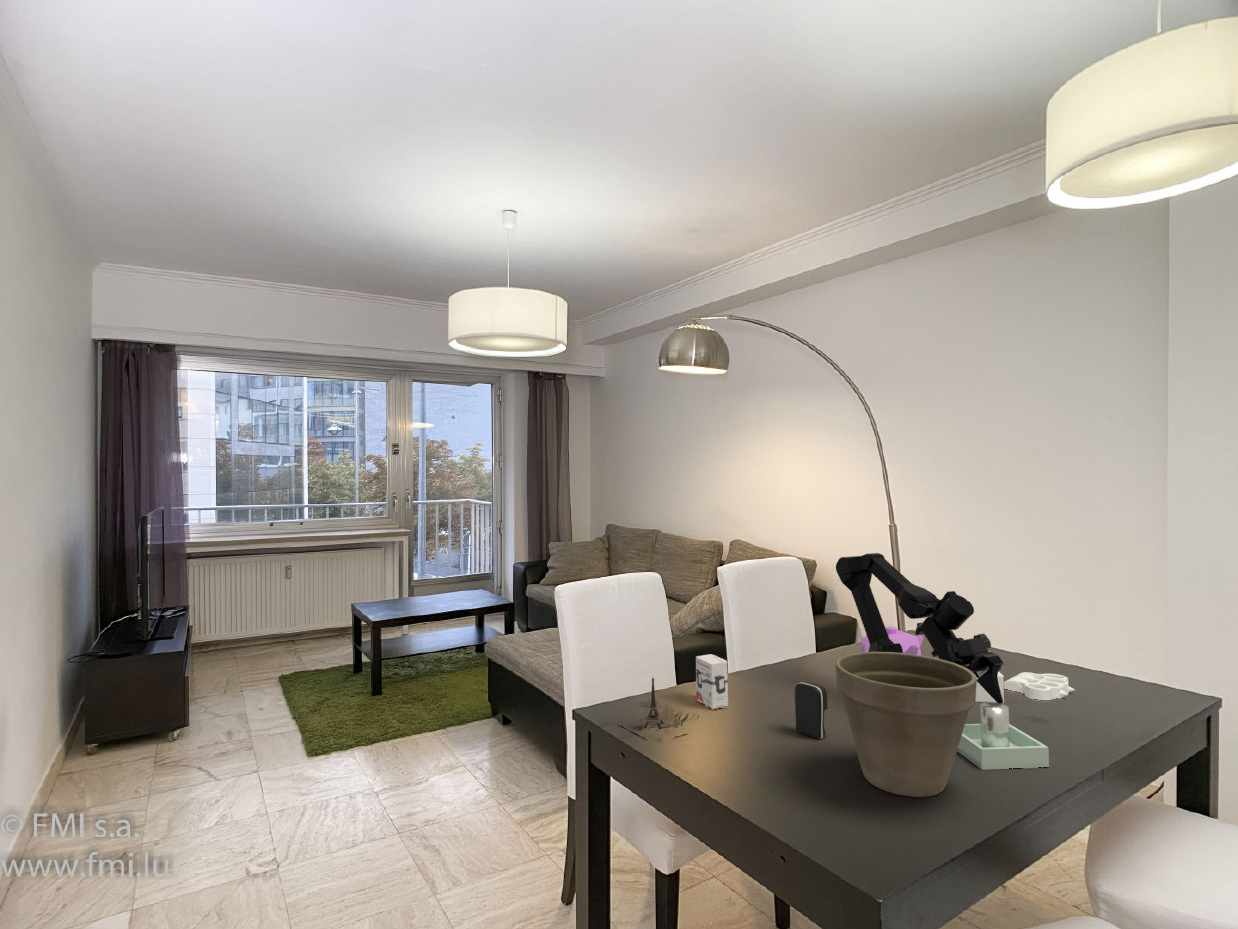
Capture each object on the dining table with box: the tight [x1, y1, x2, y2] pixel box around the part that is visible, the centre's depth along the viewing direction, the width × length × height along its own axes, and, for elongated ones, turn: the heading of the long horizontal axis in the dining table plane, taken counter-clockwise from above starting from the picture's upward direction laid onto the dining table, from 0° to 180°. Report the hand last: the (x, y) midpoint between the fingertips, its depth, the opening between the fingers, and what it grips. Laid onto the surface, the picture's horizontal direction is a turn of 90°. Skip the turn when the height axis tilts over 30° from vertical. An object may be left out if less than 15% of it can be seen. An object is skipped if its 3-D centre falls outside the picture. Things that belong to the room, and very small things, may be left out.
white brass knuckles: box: [1004, 671, 1076, 701], centre depth 186 cm, size 3×18×15 cm
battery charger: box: [794, 681, 829, 740], centre depth 157 cm, size 7×4×11 cm, turn 38°
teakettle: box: [860, 626, 925, 656], centre depth 209 cm, size 17×17×12 cm
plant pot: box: [835, 651, 977, 798], centre depth 133 cm, size 25×25×22 cm
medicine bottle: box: [972, 650, 1005, 704], centre depth 180 cm, size 7×7×12 cm
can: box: [979, 702, 1010, 748], centre depth 144 cm, size 5×5×9 cm
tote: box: [957, 723, 1050, 771], centre depth 144 cm, size 14×14×4 cm
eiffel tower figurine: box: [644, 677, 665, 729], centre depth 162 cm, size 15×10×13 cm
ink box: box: [695, 654, 729, 708], centre depth 178 cm, size 8×5×12 cm, turn 23°
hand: (984, 706), depth 147 cm, fingers open, 9 cm apart
